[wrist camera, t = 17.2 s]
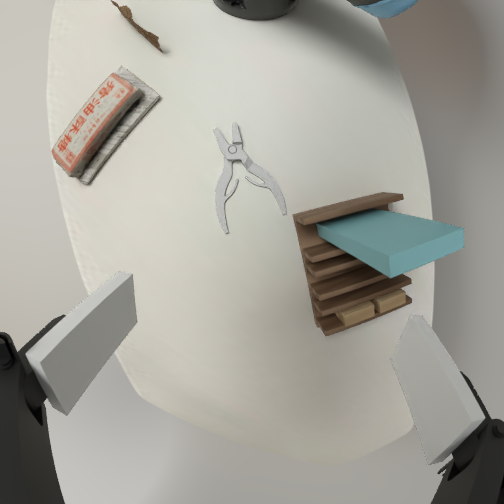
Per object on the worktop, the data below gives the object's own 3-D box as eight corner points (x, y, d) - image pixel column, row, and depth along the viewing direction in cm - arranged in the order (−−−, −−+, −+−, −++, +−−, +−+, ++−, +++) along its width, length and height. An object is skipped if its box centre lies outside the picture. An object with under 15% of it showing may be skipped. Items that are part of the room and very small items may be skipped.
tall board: (316, 223, 40) (388, 256, 20) (372, 208, 40) (463, 228, 21) (318, 236, 40) (390, 278, 21) (374, 220, 41) (464, 247, 21)
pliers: (223, 235, 39) (190, 135, 35) (223, 233, 40) (192, 137, 37) (289, 213, 39) (258, 115, 35) (286, 212, 41) (256, 118, 37)
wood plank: (170, 48, 32) (163, 33, 28) (159, 55, 33) (152, 41, 28) (127, 7, 29) (119, -6, 24) (118, 14, 29) (109, 1, 24)
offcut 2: (362, 288, 43) (379, 302, 37) (386, 279, 43) (405, 291, 37) (363, 299, 44) (380, 313, 38) (387, 290, 44) (405, 302, 38)
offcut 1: (330, 299, 43) (344, 315, 37) (357, 290, 43) (374, 304, 37) (332, 310, 43) (345, 326, 38) (358, 300, 44) (374, 315, 38)
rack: (292, 214, 40) (303, 219, 34) (382, 192, 41) (402, 194, 35) (315, 324, 45) (326, 342, 39) (394, 296, 45) (411, 308, 39)
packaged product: (74, 187, 32) (40, 149, 30) (89, 186, 37) (56, 152, 35) (155, 87, 30) (113, 56, 28) (162, 97, 35) (124, 67, 33)
